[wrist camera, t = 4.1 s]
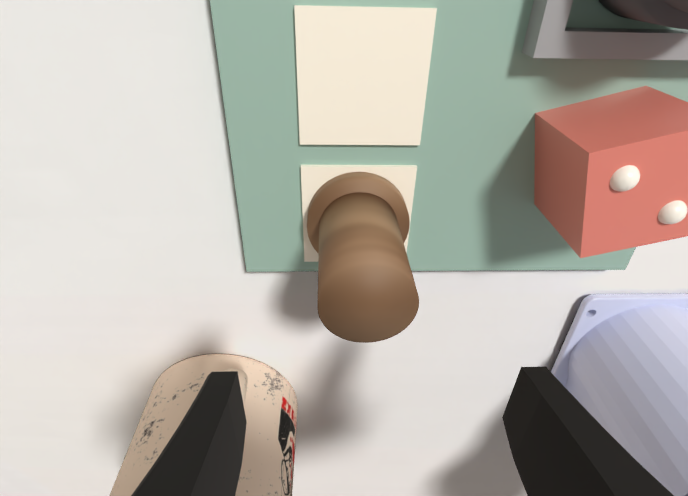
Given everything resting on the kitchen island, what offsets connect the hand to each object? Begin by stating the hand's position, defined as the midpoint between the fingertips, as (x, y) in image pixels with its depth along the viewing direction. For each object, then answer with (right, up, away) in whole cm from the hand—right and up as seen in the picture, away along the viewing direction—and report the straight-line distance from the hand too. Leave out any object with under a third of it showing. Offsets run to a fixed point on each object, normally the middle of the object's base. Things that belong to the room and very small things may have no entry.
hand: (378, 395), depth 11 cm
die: (+9, +8, +6) cm, 13 cm away
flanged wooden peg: (0, +5, +7) cm, 9 cm away
